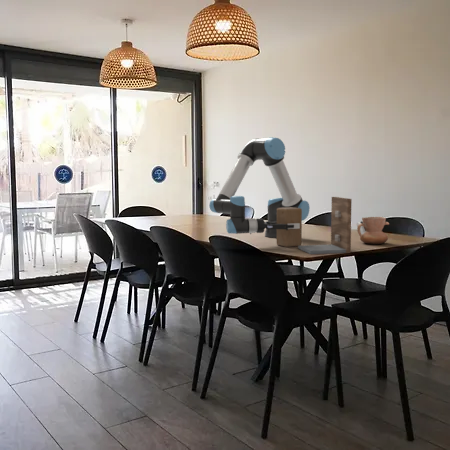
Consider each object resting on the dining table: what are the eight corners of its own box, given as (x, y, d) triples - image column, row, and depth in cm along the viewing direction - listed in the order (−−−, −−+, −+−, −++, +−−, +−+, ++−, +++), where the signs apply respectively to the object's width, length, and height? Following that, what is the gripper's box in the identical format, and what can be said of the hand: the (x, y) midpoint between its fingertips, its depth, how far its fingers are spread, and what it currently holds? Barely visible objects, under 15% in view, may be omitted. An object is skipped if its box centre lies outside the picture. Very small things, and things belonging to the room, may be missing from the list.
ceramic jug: (382, 241, 292) (382, 215, 291) (394, 244, 278) (394, 217, 277) (351, 242, 290) (351, 217, 289) (362, 246, 276) (362, 219, 274)
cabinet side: (344, 253, 252) (345, 198, 249) (328, 247, 272) (329, 196, 269) (350, 252, 253) (351, 198, 250) (334, 246, 272) (335, 196, 270)
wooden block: (286, 247, 272) (286, 208, 270) (275, 245, 281) (275, 207, 279) (302, 246, 276) (302, 208, 274) (291, 243, 285) (291, 207, 283)
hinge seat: (310, 254, 250) (310, 250, 250) (298, 248, 268) (298, 245, 268) (345, 252, 253) (345, 249, 253) (331, 247, 271) (331, 244, 271)
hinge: (374, 237, 309) (368, 221, 308) (366, 240, 309) (361, 224, 308) (367, 233, 326) (362, 218, 325) (360, 236, 326) (355, 221, 325)
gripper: (250, 230, 286) (288, 229, 290) (261, 235, 263) (303, 234, 267) (250, 216, 286) (288, 215, 289) (261, 220, 262) (303, 219, 266)
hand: (295, 224), depth 278 cm, fingers closed on wooden block, 12 cm apart
